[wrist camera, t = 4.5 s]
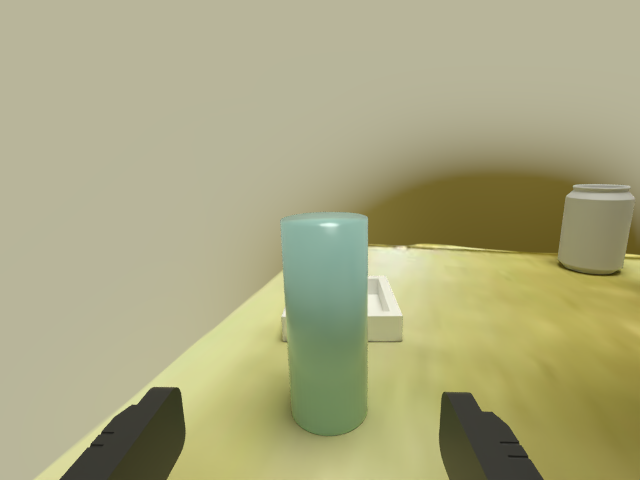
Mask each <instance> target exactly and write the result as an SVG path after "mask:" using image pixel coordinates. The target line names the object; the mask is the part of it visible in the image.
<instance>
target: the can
mask: <svg viewBox="0 0 640 480" xmlns="http://www.w3.org/2000/svg"><path fill="white" fill-rule="evenodd" d="M573 188H574V190H573V191H572V192H571V193H569V194H568V195H567V196H566V200H565V207H564V215H563V222H562V230H561V237H560V245H559V252H558V260H559V261H560V262H561V263H562V264H563V265H564V267H566V268H568V269H571V270H574V271H578V272H582V273H589V274H612V273H614V272H615V271H617V270H619V269H621V268H623V264H624V258H625V252H626V247H627V241H628V236H629V231H630V225H631V219H632V214H633V208H634V203H635V198H634V197H633V195H632V194H631V193H630V192H629V189H630V188H631V187H630V186H624V185H605V184H585V185H584V184H583V185H574V186H573Z"/></svg>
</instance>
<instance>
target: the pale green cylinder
mask: <svg viewBox="0 0 640 480" xmlns="http://www.w3.org/2000/svg"><path fill="white" fill-rule="evenodd" d="M280 223H281V240H282V257H283V275H284V293H285V310H286V327H287V345H288V362H289V380H290V397H291V412H292V416H293V418H294V420H295V421H296V423H297V424H298V425H299V426H300V427H302V428H303V429H305V430H306V431H308V432H311V433H314V434H317V435H324V436H334V435H340V434H344V433H347V432H350V431H352V430H354V429H355V428H357V427H358V426H359V425H360V424H361V423H362V422H363V421H364V419H365V417H366V415H367V410H368V217H366V216H364V215H361V214H355V213H346V212H316V213H305V214H297V215H292V216H288V217H284V218H282V219H281V220H280Z"/></svg>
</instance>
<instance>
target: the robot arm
mask: <svg viewBox="0 0 640 480" xmlns="http://www.w3.org/2000/svg"><path fill="white" fill-rule="evenodd" d="M184 441H185V422H184V414H183V406H182V398H181V392H180V389H179V388H177V387H153V388H151V389H150V390H149V391H148V392H147V393H146V395H145V396H144V397H143V398H142V399H141V401H140V402H139V403H138V404H137V405H131V406H130V407H128V408H127V409H125V410H124V411H122V412H121V413H120V414H118V415H117V416H115V417H114V418H113V419H112V420H111V422H110V423H109V424H108V425H107V426H106V427H105V428H104V430H103V431H102V433H101V435H98V436H97V437H96V439H95V440H94V441H93V442H92V443H91V445H90V448H87V449H86V450H85V451H84V452H83V453H82V455H81V456H80V457H79V458H78V459H77V460H76V461H75V463H74V464H73V465H72V466H71V467H70V468H69V469H68V471H67V472H66V473H65V474H64V475H63V476H62V477H61V478H60V480H167V478H168V476H169V474H170V472H171V470H172V468H173V467H174V465H175V463H176V461H177V459H178V457H179V455H180V454H181V451H182V449H183V445H184ZM439 444H440V451H441V456H442V460H443V463H444V466H445V469H446V472H447V474H448V477H449V480H543V478H542V476H541V475H540V473H539V472H538V470H537V469H536V467H535V466H534V464H533V463H532V461H531V460H530V459H528V455H527V453H526V452H525V450H524V449H523V447H522V446H521V445H519V441H518V440H517V438H516V437H515V435H514V434H513V432H512V430H511V429H510V427H509V426H508V425H507V424H506V423H505V422H503V421H502V420H501V419H500V418H499V417H497V416H496V415H495V414H494V413H493V412H482V411H481V409H480V407H479V406H478V404H477V402H476V401H475V399H474V397H473V396H472V394H471V393H469V392H443V394H442V399H441V415H440V430H439Z"/></svg>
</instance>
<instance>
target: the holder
mask: <svg viewBox="0 0 640 480" xmlns="http://www.w3.org/2000/svg"><path fill="white" fill-rule="evenodd" d="M402 327H403V315H402V313H401V311H400V308H399V306H398V304H397V301H396V299H395V296H394V294H393V292H392V289H391V287H390V285H389V282H388V280H387V277H386V276H368V341H402ZM282 332H283V341H287V327H286V310H285V308H284V311H283V314H282Z"/></svg>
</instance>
